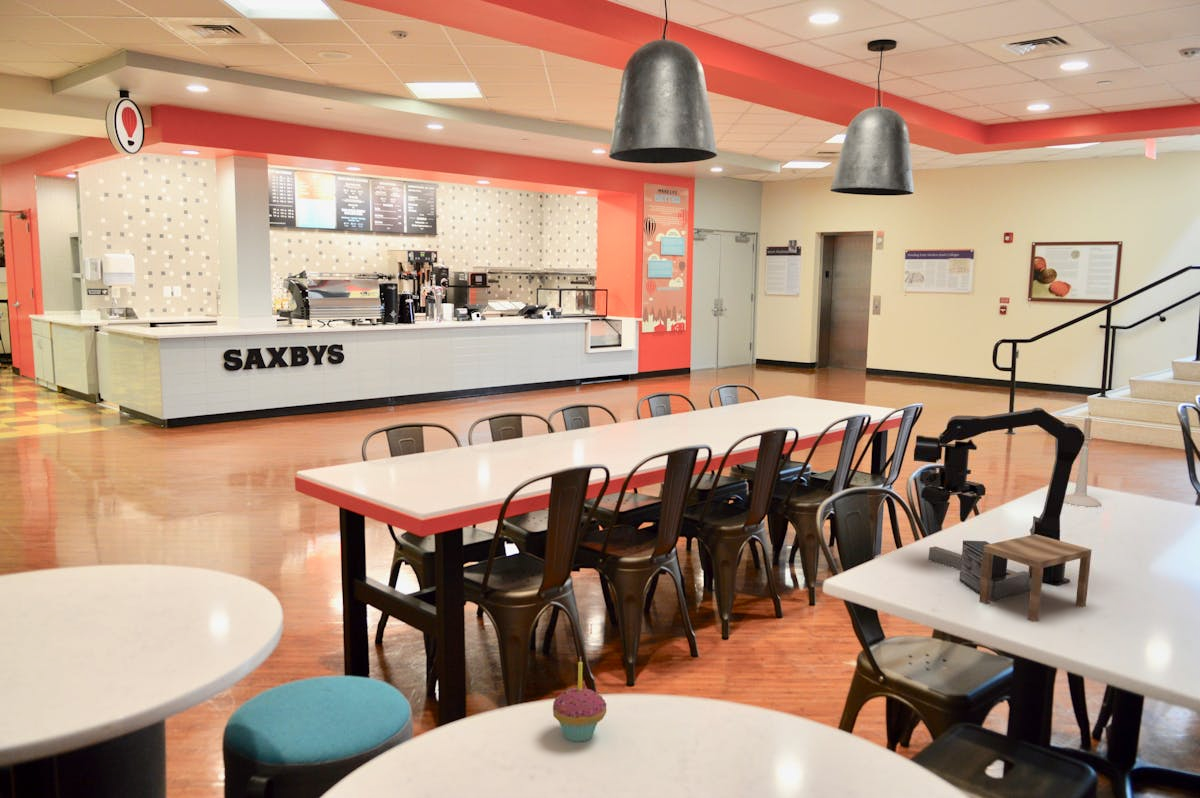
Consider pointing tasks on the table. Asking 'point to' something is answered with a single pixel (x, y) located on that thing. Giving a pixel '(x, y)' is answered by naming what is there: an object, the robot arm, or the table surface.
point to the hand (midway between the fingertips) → (951, 523)
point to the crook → (999, 586)
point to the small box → (978, 564)
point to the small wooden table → (1036, 565)
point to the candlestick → (1083, 475)
